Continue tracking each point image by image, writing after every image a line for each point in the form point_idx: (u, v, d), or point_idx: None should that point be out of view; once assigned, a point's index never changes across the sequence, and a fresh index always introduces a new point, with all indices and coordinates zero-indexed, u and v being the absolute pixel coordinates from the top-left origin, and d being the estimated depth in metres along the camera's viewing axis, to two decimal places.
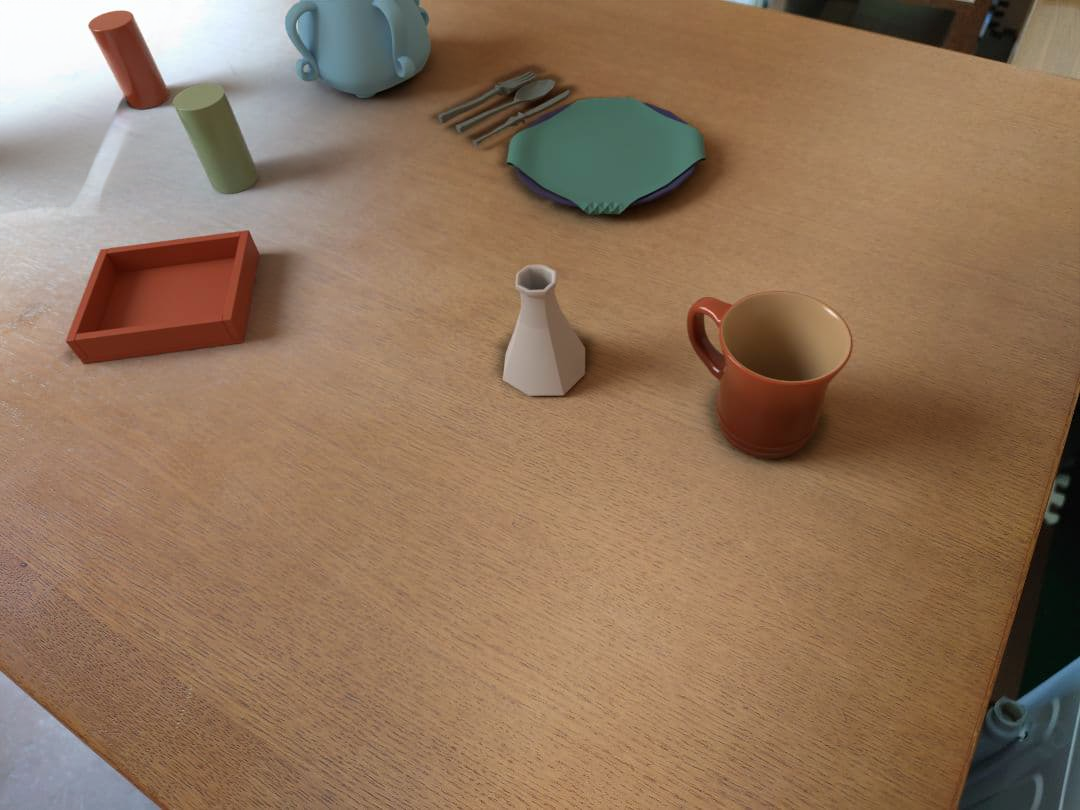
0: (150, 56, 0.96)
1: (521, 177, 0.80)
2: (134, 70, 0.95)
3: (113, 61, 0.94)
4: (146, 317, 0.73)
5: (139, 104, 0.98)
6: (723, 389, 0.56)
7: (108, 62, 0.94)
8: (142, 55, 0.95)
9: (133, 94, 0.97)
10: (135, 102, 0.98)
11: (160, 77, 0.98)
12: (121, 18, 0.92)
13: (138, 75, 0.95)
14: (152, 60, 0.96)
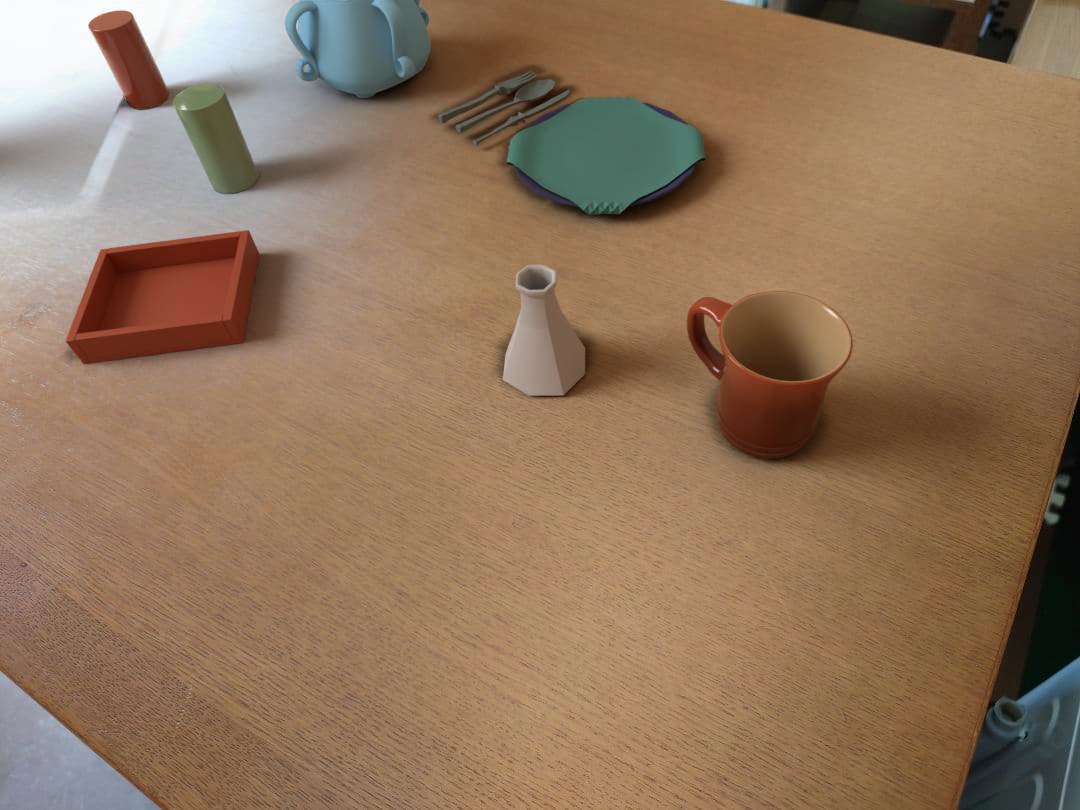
0: (150, 56, 0.96)
1: (521, 177, 0.80)
2: (134, 70, 0.95)
3: (113, 61, 0.94)
4: (146, 317, 0.73)
5: (139, 104, 0.98)
6: (723, 389, 0.56)
7: (108, 62, 0.94)
8: (142, 55, 0.95)
9: (133, 94, 0.97)
10: (135, 102, 0.98)
11: (160, 77, 0.98)
12: (121, 18, 0.92)
13: (138, 75, 0.95)
14: (152, 60, 0.96)
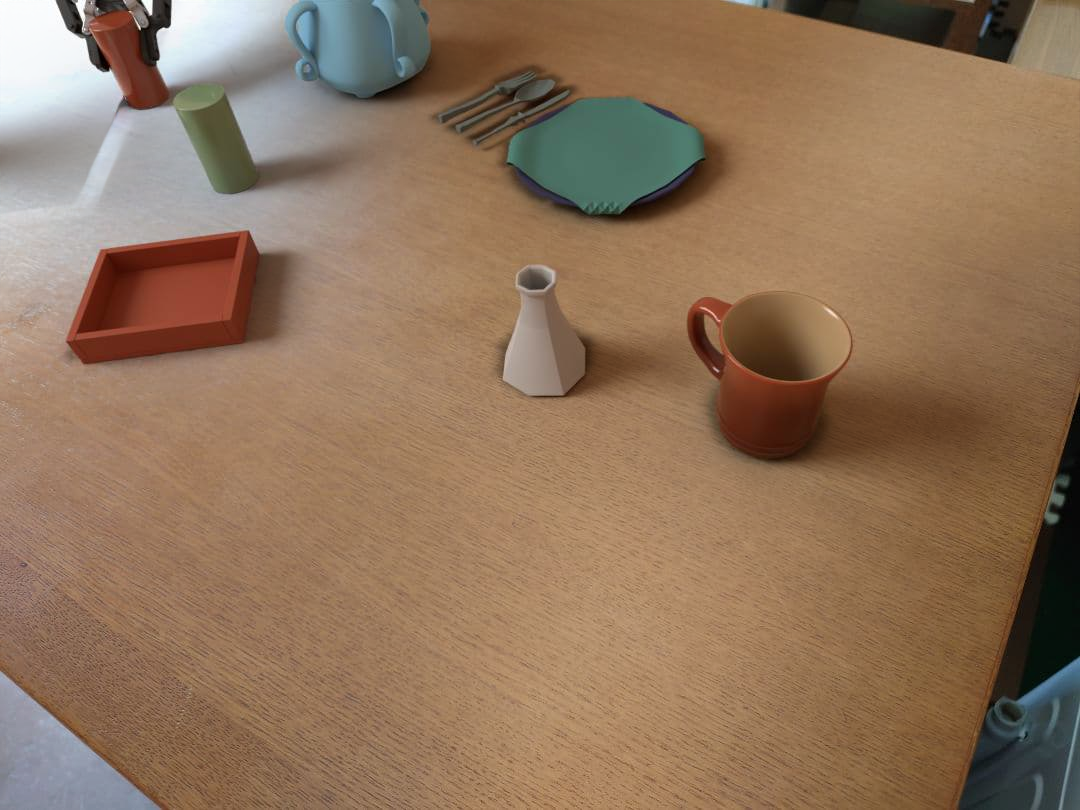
0: None
1: (521, 177, 0.80)
2: (134, 70, 0.95)
3: (113, 62, 0.94)
4: (146, 317, 0.73)
5: (139, 104, 0.98)
6: (723, 389, 0.56)
7: (108, 62, 0.94)
8: None
9: (133, 94, 0.97)
10: (135, 102, 0.98)
11: (160, 77, 0.98)
12: (121, 19, 0.92)
13: (138, 75, 0.95)
14: None
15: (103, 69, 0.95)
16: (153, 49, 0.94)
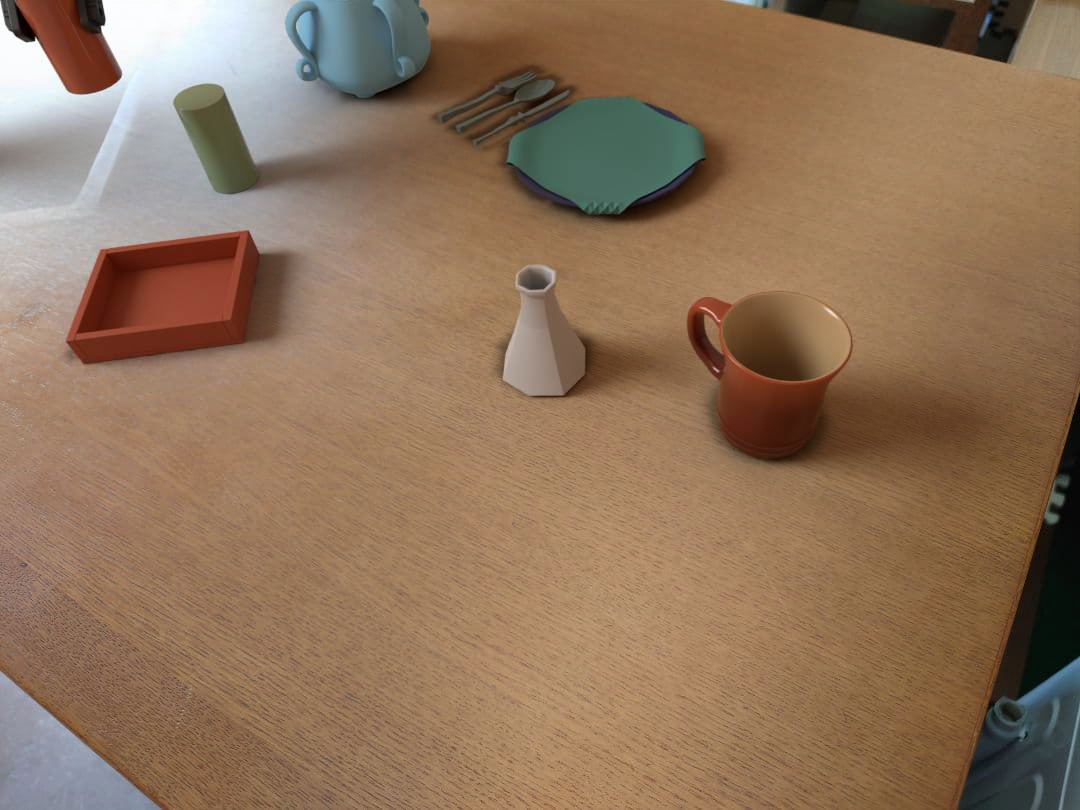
0: None
1: (521, 177, 0.80)
2: (69, 39, 0.67)
3: (38, 26, 0.66)
4: (146, 317, 0.73)
5: (79, 87, 0.70)
6: (723, 389, 0.56)
7: (32, 27, 0.67)
8: None
9: (70, 73, 0.69)
10: (73, 84, 0.70)
11: (108, 50, 0.71)
12: None
13: (75, 46, 0.68)
14: None
15: (25, 38, 0.67)
16: (95, 9, 0.67)
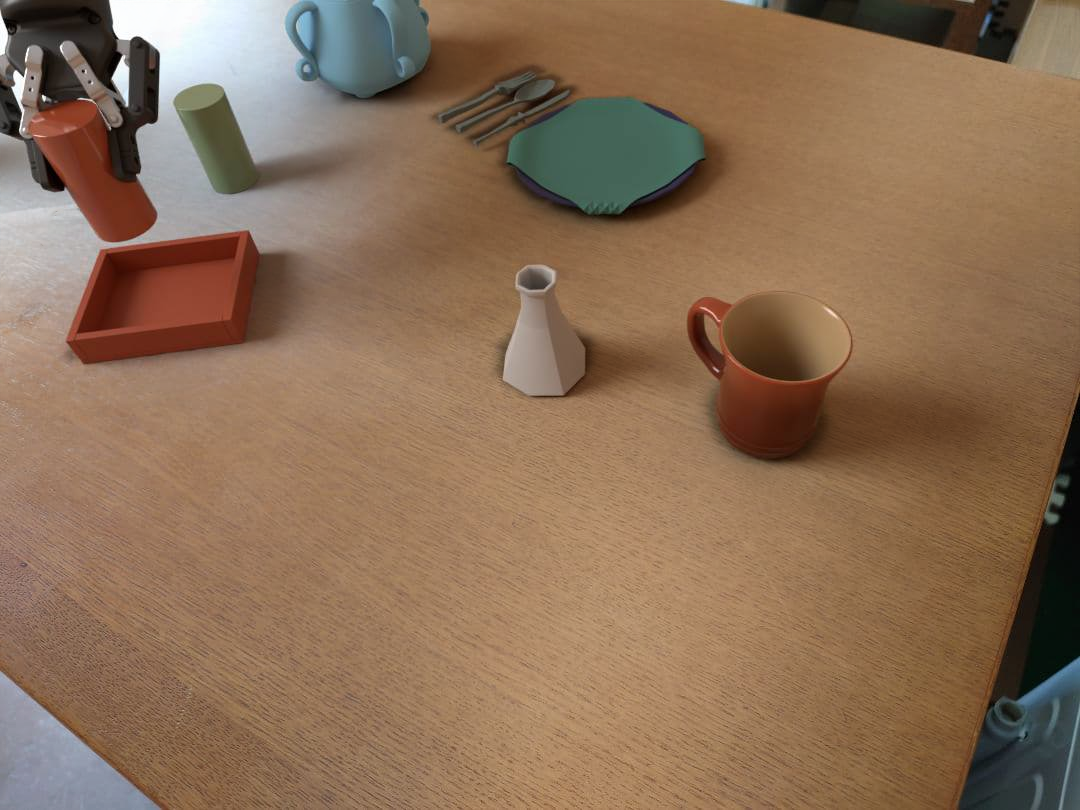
0: None
1: (521, 177, 0.80)
2: (102, 190, 0.61)
3: (69, 179, 0.60)
4: (146, 317, 0.73)
5: (111, 236, 0.65)
6: (723, 389, 0.56)
7: (61, 179, 0.61)
8: None
9: (101, 223, 0.64)
10: (105, 233, 0.64)
11: (143, 194, 0.65)
12: (79, 115, 0.59)
13: (108, 196, 0.62)
14: None
15: (54, 189, 0.61)
16: (130, 159, 0.61)
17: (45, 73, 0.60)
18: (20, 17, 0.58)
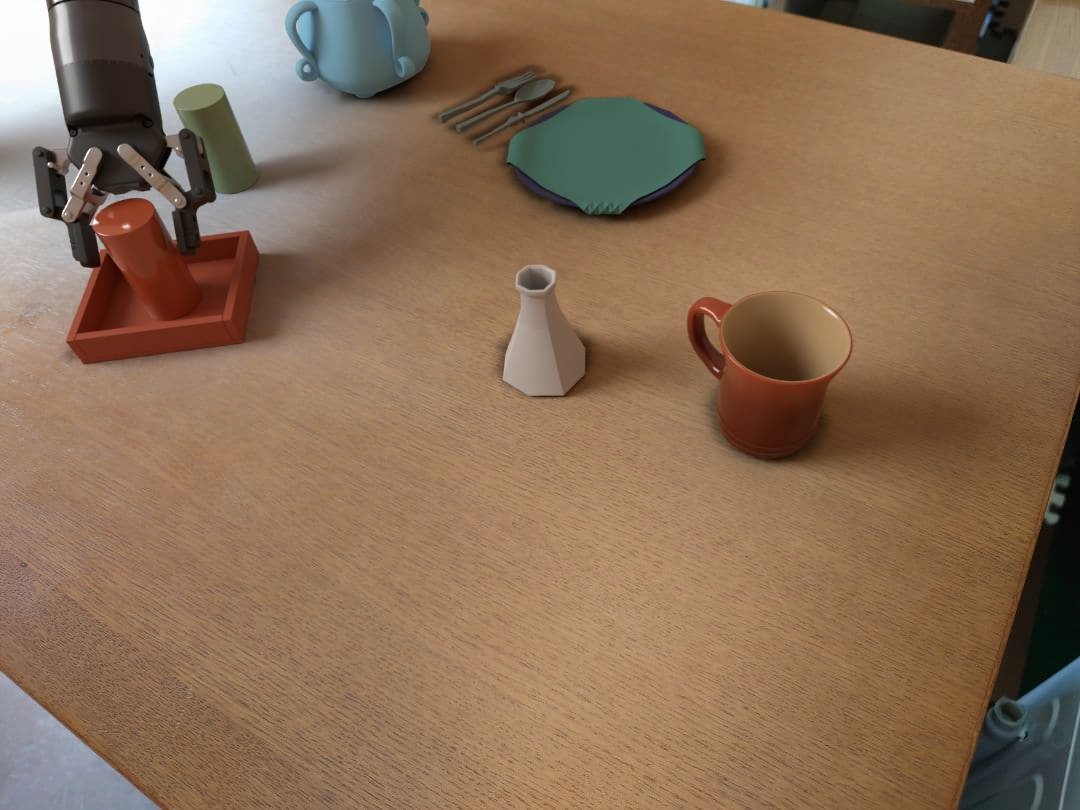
0: (177, 255, 0.70)
1: (521, 177, 0.80)
2: (156, 278, 0.69)
3: (127, 269, 0.68)
4: (146, 317, 0.73)
5: (162, 315, 0.72)
6: (723, 389, 0.56)
7: (120, 268, 0.68)
8: (167, 258, 0.68)
9: (154, 305, 0.71)
10: (156, 313, 0.72)
11: (190, 278, 0.72)
12: (138, 214, 0.66)
13: (161, 283, 0.69)
14: (180, 259, 0.70)
15: (92, 266, 0.68)
16: (192, 236, 0.68)
17: (103, 171, 0.66)
18: (82, 123, 0.65)
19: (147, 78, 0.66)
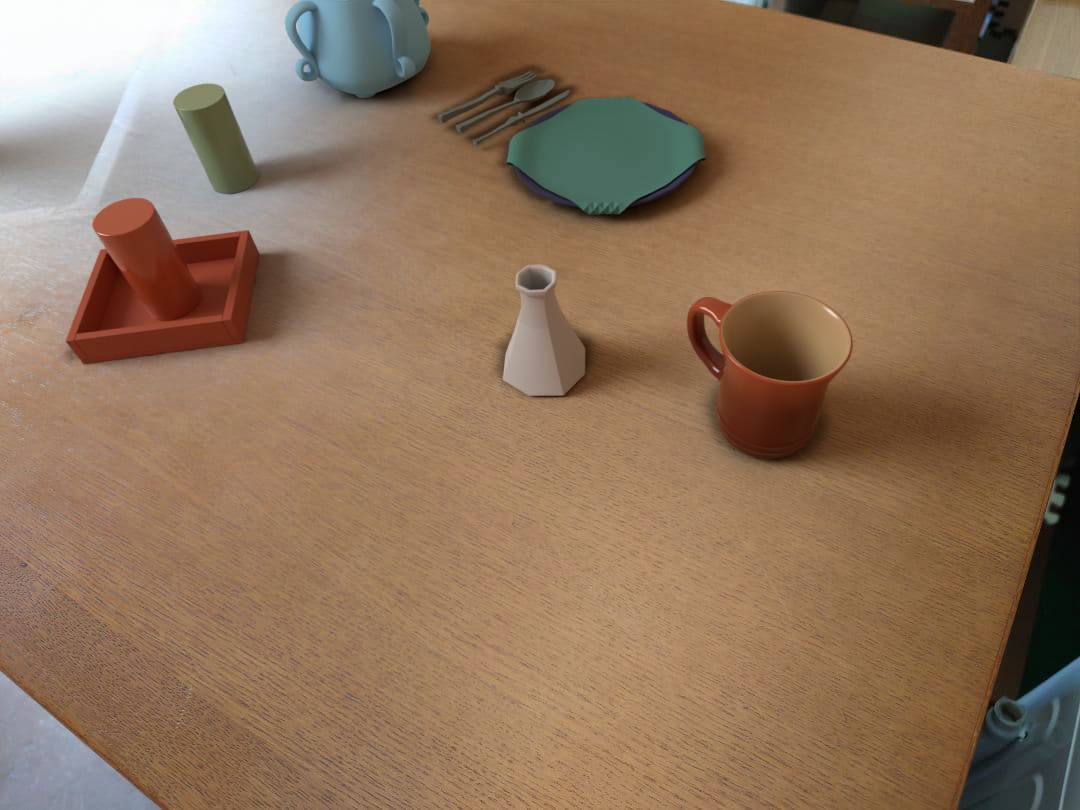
0: (177, 255, 0.70)
1: (521, 177, 0.80)
2: (156, 278, 0.69)
3: (127, 269, 0.68)
4: (146, 317, 0.73)
5: (162, 315, 0.72)
6: (723, 389, 0.56)
7: (120, 268, 0.68)
8: (167, 258, 0.68)
9: (154, 305, 0.71)
10: (156, 313, 0.72)
11: (190, 278, 0.72)
12: (138, 214, 0.66)
13: (161, 283, 0.69)
14: (180, 259, 0.70)
15: None
16: None
17: None
18: None
19: None
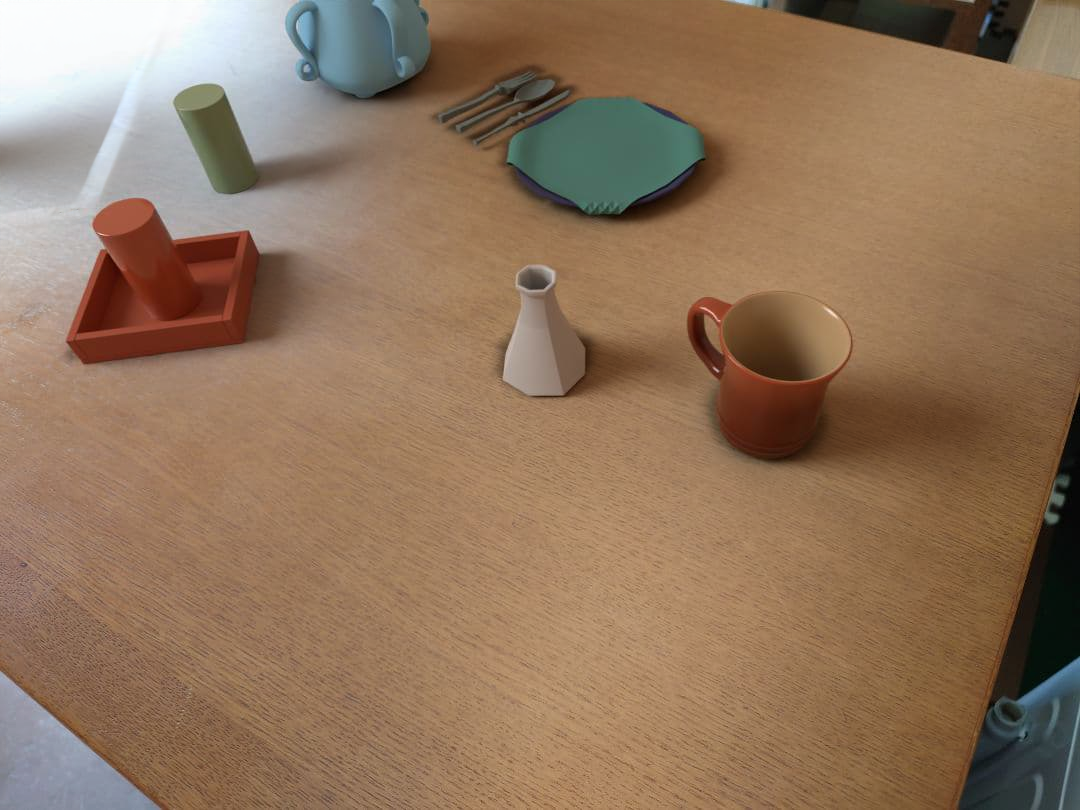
0: (177, 255, 0.70)
1: (521, 177, 0.80)
2: (156, 278, 0.69)
3: (127, 269, 0.68)
4: (146, 317, 0.73)
5: (162, 315, 0.72)
6: (723, 389, 0.56)
7: (120, 268, 0.68)
8: (167, 258, 0.68)
9: (154, 305, 0.71)
10: (156, 313, 0.72)
11: (190, 278, 0.72)
12: (138, 214, 0.66)
13: (161, 283, 0.69)
14: (180, 259, 0.70)
15: None
16: None
17: None
18: None
19: None
